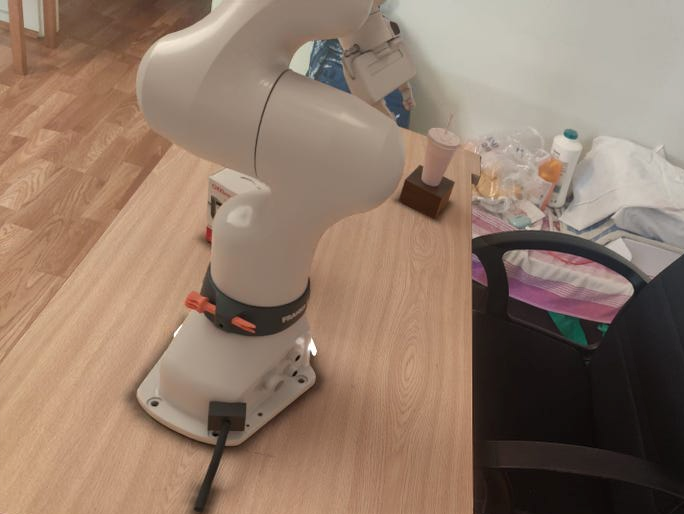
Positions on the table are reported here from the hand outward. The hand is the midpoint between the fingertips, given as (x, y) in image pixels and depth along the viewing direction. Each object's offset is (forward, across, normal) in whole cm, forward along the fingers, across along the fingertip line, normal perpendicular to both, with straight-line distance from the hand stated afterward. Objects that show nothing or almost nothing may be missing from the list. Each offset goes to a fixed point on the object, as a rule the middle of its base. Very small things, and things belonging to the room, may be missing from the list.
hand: (402, 116), depth 113 cm
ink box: (+4, -37, +17) cm, 41 cm away
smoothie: (+13, 0, 0) cm, 13 cm away
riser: (+16, 0, +4) cm, 17 cm away
